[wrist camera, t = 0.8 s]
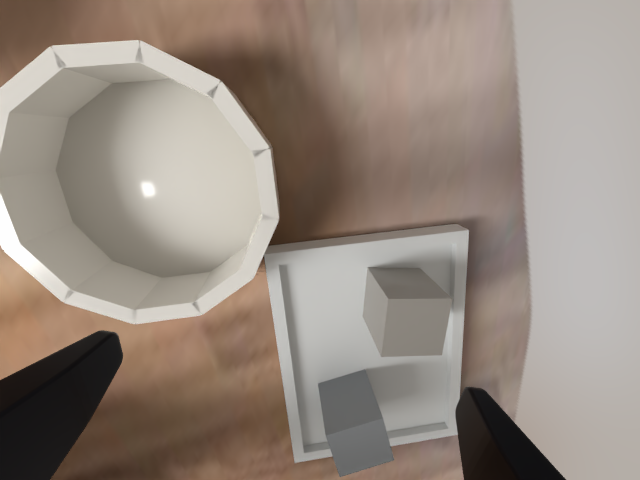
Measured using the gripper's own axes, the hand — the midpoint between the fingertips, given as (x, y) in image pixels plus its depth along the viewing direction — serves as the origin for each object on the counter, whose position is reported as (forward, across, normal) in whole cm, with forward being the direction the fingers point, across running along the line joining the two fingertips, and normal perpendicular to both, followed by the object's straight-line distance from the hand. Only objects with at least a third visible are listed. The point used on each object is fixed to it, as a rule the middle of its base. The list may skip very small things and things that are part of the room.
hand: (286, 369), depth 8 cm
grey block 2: (+13, -5, +6) cm, 15 cm away
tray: (+13, -4, +11) cm, 17 cm away
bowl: (+12, +9, 0) cm, 15 cm away
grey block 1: (+11, -3, +14) cm, 18 cm away
